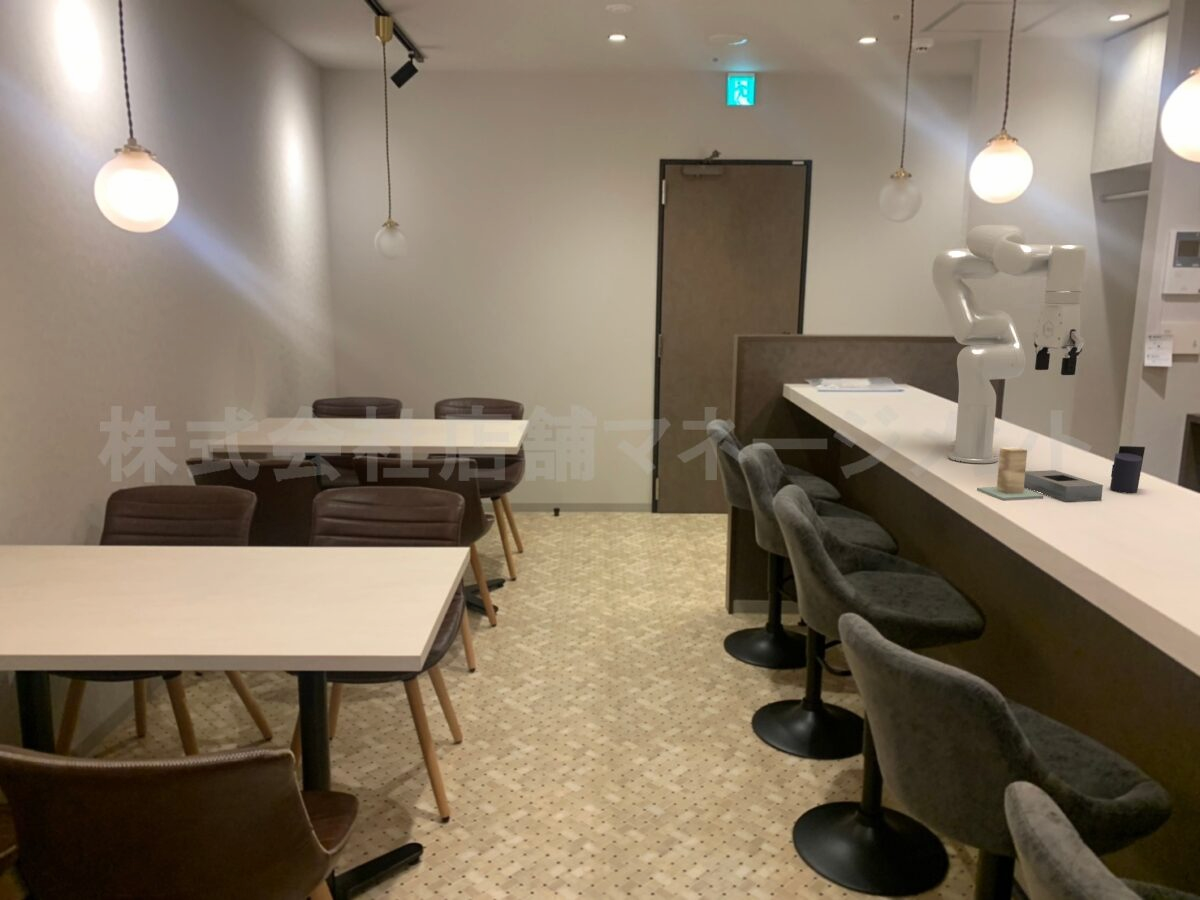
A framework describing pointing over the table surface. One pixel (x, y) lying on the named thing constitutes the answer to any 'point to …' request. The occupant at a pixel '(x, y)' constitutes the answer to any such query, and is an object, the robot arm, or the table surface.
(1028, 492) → the pad
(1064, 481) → the plate with square hole
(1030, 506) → the table surface
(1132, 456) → the speaker
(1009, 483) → the peg
